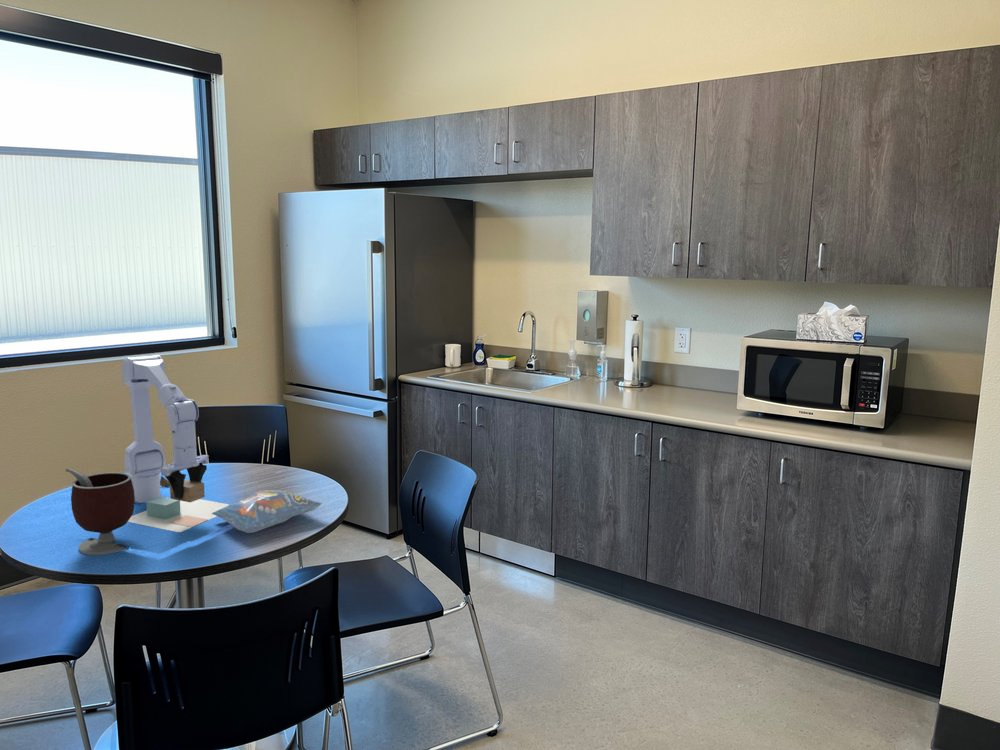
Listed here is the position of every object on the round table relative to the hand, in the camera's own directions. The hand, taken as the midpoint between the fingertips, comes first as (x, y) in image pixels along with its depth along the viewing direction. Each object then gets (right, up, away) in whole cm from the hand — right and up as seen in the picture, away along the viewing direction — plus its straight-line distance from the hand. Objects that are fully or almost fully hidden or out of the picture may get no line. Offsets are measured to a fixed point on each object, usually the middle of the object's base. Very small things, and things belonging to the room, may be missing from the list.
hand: (187, 494), depth 196 cm
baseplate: (-5, -8, +8) cm, 12 cm away
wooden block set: (-26, -4, +27) cm, 38 cm away
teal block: (-9, -7, +6) cm, 13 cm away
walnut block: (0, -1, 0) cm, 1 cm away
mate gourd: (-16, -11, -13) cm, 23 cm away
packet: (+20, -9, +4) cm, 22 cm away
